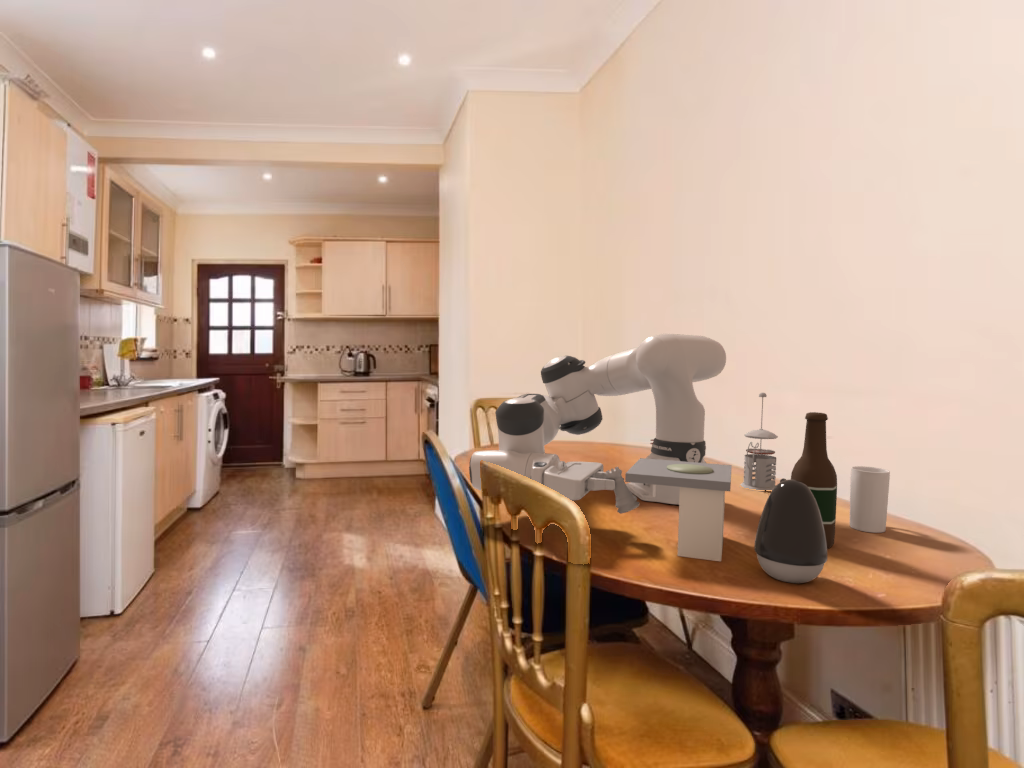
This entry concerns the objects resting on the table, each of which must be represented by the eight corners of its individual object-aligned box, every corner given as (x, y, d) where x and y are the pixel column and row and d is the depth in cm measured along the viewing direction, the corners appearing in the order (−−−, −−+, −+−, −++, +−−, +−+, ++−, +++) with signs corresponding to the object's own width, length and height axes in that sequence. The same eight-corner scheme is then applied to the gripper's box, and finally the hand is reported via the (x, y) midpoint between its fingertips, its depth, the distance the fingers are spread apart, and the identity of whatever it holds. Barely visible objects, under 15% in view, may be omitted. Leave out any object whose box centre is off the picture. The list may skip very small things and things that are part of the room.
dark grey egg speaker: (812, 567, 98) (816, 474, 97) (836, 592, 88) (841, 488, 87) (746, 563, 99) (750, 471, 99) (762, 586, 89) (766, 484, 88)
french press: (785, 487, 159) (789, 393, 158) (768, 494, 151) (772, 394, 149) (748, 481, 166) (751, 390, 165) (729, 488, 157) (733, 392, 156)
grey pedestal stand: (623, 550, 104) (625, 471, 104) (638, 525, 120) (640, 456, 120) (727, 564, 99) (730, 480, 98) (728, 535, 114) (731, 463, 114)
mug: (887, 535, 117) (890, 474, 116) (847, 529, 120) (850, 470, 120) (885, 523, 126) (888, 466, 125) (848, 518, 129) (851, 462, 128)
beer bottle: (816, 551, 106) (822, 415, 105) (778, 539, 113) (783, 411, 112) (844, 546, 110) (850, 414, 108) (806, 534, 116) (811, 410, 115)
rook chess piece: (642, 502, 113) (624, 463, 114) (639, 508, 109) (621, 466, 110) (620, 510, 115) (603, 471, 116) (616, 516, 110) (598, 475, 111)
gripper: (561, 482, 127) (626, 488, 122) (529, 503, 108) (606, 512, 103) (561, 452, 127) (627, 457, 122) (530, 468, 108) (606, 475, 103)
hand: (617, 482), depth 112 cm, fingers closed on rook chess piece, 3 cm apart
